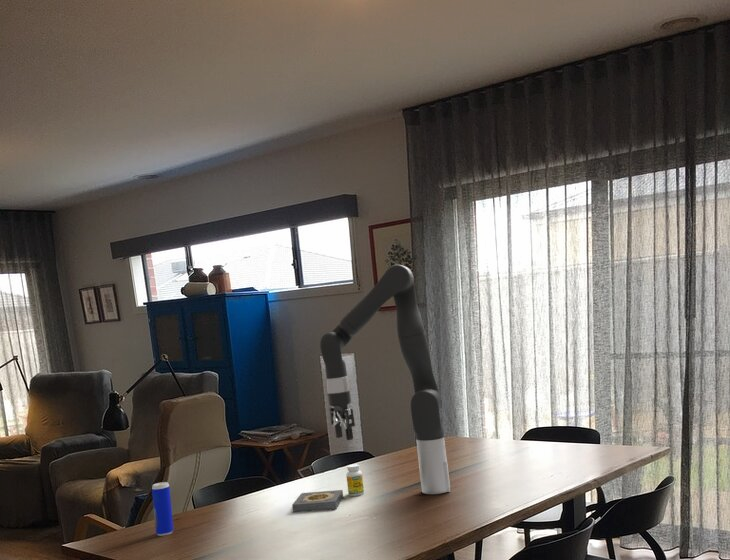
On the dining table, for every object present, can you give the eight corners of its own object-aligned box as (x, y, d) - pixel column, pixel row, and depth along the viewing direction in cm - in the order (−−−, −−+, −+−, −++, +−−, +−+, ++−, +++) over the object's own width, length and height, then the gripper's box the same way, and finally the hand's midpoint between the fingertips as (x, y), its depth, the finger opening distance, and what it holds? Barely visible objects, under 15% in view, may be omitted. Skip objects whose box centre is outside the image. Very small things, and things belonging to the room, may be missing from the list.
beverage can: (158, 532, 215) (153, 483, 216) (175, 529, 215) (170, 480, 216) (154, 537, 210) (149, 486, 210) (171, 534, 210) (167, 484, 211)
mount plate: (343, 497, 232) (342, 489, 233) (336, 509, 218) (335, 501, 219) (302, 500, 234) (301, 493, 234) (292, 512, 220) (292, 504, 220)
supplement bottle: (358, 491, 239) (355, 463, 239) (367, 493, 234) (364, 464, 235) (345, 494, 236) (342, 466, 236) (353, 497, 231) (350, 468, 232)
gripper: (357, 389, 232) (363, 438, 231) (339, 388, 244) (345, 434, 243) (337, 393, 228) (343, 442, 227) (320, 391, 241) (326, 438, 240)
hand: (344, 438), depth 235 cm, fingers open, 8 cm apart
